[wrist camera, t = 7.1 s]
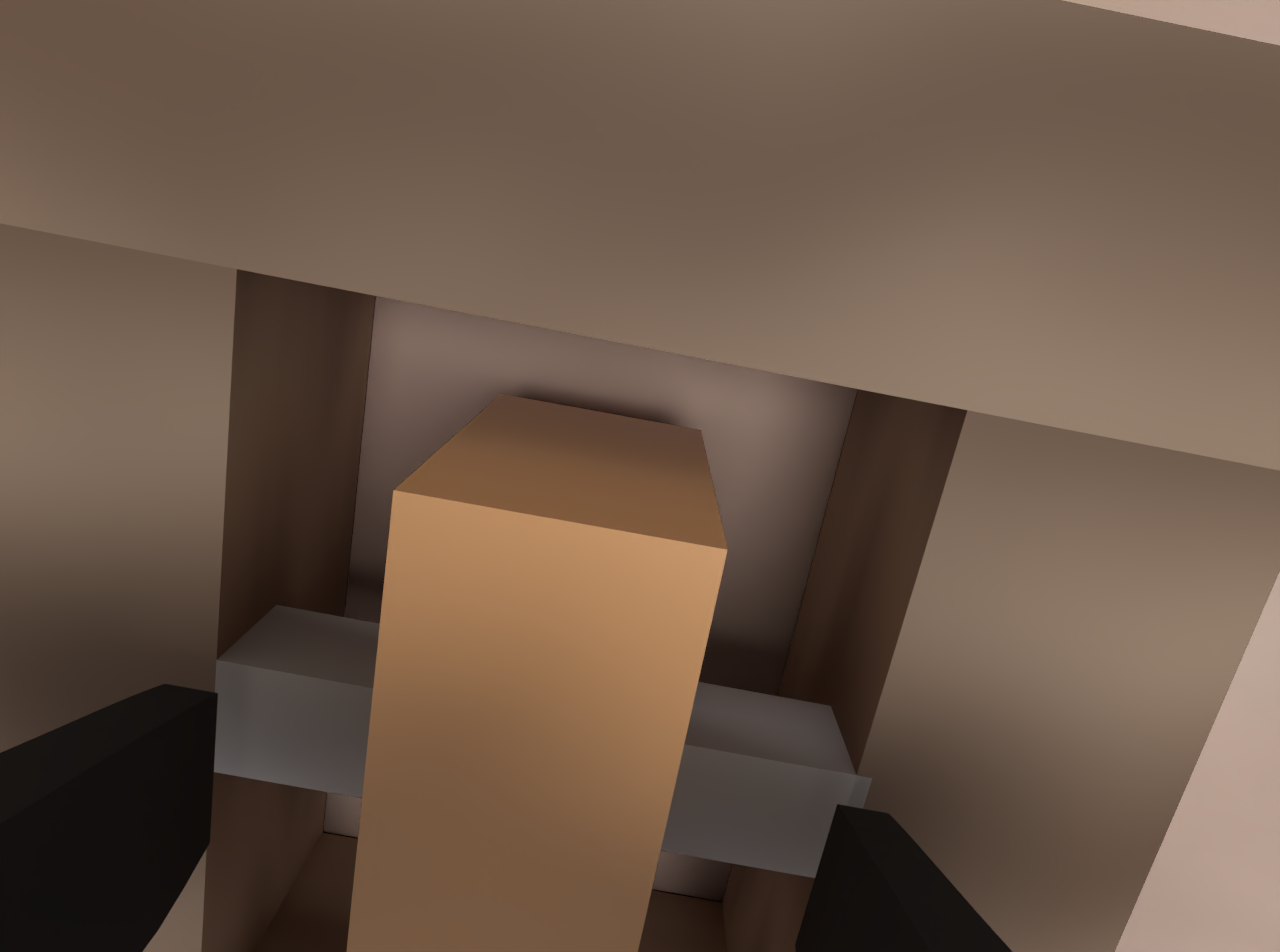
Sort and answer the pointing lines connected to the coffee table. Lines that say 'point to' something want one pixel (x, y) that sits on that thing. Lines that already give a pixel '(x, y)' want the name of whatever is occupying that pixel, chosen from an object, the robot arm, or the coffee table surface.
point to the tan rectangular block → (534, 682)
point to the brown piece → (676, 323)
